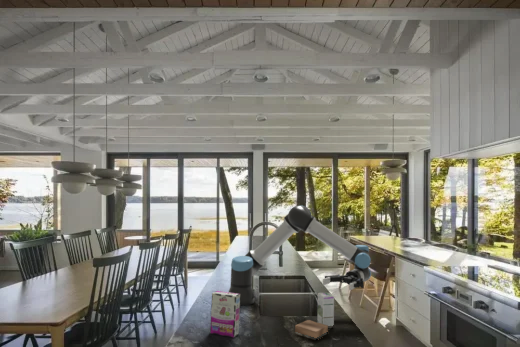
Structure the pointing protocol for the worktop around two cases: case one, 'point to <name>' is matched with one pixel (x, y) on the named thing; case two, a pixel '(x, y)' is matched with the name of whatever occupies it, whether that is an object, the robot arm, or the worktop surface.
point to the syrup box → (325, 309)
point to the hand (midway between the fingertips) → (336, 284)
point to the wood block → (311, 328)
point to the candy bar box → (225, 313)
